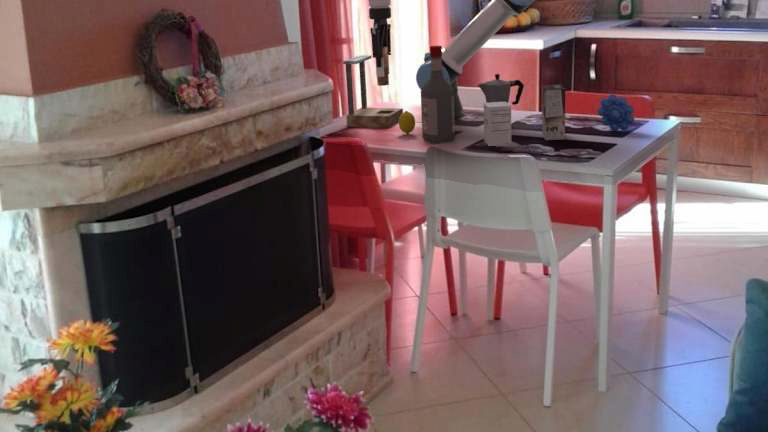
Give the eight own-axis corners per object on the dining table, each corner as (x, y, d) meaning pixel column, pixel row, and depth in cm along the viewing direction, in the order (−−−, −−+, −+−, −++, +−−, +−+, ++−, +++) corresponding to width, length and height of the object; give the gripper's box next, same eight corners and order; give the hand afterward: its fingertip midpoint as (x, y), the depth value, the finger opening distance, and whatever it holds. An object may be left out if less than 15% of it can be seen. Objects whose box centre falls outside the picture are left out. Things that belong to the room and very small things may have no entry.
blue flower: (595, 133, 285) (596, 96, 281) (597, 129, 291) (598, 92, 287) (633, 134, 281) (634, 96, 278) (634, 129, 287) (635, 92, 284)
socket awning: (403, 119, 321) (400, 55, 314) (389, 127, 309) (385, 61, 302) (362, 118, 327) (358, 55, 320) (347, 126, 315) (342, 61, 308)
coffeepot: (480, 131, 297) (479, 77, 291) (476, 125, 306) (475, 73, 300) (526, 128, 297) (526, 74, 292) (521, 122, 306) (521, 70, 301)
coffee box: (565, 139, 279) (566, 88, 274) (545, 140, 279) (545, 89, 275) (560, 133, 288) (561, 83, 283) (541, 134, 288) (541, 84, 283)
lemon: (417, 132, 299) (416, 109, 297) (412, 136, 294) (411, 112, 292) (402, 132, 301) (401, 109, 298) (397, 136, 296) (395, 112, 294)
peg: (390, 83, 314) (388, 46, 310) (386, 85, 310) (384, 48, 306) (380, 83, 315) (378, 46, 311) (375, 85, 312) (373, 48, 308)
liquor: (432, 144, 282) (429, 49, 273) (420, 139, 290) (416, 46, 281) (458, 140, 285) (455, 46, 276) (444, 135, 293) (442, 43, 284)
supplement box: (483, 142, 282) (483, 102, 278) (506, 140, 282) (506, 101, 278) (488, 147, 275) (487, 106, 271) (512, 145, 275) (511, 105, 271)
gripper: (378, 4, 313) (381, 71, 320) (359, 9, 298) (363, 79, 305) (398, 4, 311) (401, 71, 318) (380, 9, 296) (384, 79, 303)
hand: (383, 75), depth 312 cm, fingers closed on peg, 4 cm apart
